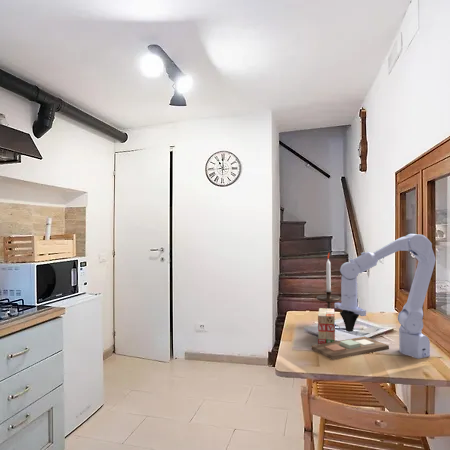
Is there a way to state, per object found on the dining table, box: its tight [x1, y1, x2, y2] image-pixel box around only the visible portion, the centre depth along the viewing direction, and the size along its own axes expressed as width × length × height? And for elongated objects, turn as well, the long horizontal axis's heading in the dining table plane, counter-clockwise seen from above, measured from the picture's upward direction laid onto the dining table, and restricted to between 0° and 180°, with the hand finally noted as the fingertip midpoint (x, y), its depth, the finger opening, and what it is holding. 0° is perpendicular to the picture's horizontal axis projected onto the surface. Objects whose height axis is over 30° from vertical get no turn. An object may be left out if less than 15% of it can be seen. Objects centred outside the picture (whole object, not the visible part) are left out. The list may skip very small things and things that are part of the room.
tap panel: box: [311, 336, 390, 361], centre depth 136 cm, size 12×26×2 cm, turn 113°
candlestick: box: [316, 252, 341, 326], centre depth 167 cm, size 11×11×35 cm
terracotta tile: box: [325, 344, 345, 352], centre depth 133 cm, size 5×5×2 cm
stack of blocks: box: [317, 307, 336, 345], centre depth 151 cm, size 21×6×12 cm, turn 163°
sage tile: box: [339, 339, 360, 349], centre depth 136 cm, size 5×5×2 cm
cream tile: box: [355, 339, 374, 346], centre depth 139 cm, size 5×5×2 cm
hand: (349, 331), depth 136 cm, fingers closed
